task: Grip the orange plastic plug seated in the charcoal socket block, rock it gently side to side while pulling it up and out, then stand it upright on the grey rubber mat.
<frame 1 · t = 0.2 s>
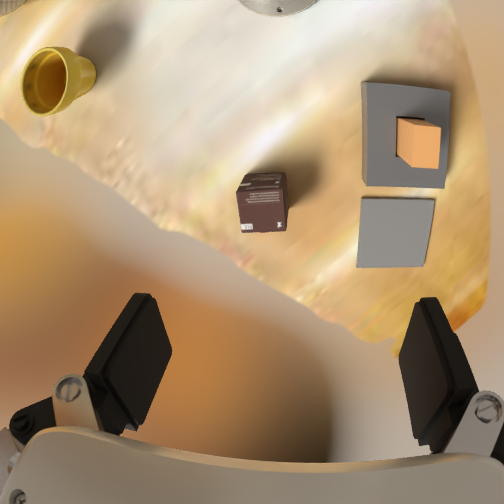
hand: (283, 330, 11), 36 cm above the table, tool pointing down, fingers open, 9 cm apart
plug: (403, 133, 38), resting on socket block
box: (267, 191, 46), on the table
mat: (394, 233, 46), on the table
socket block: (402, 132, 38), on the table
plant pot: (82, 76, 40), on the table
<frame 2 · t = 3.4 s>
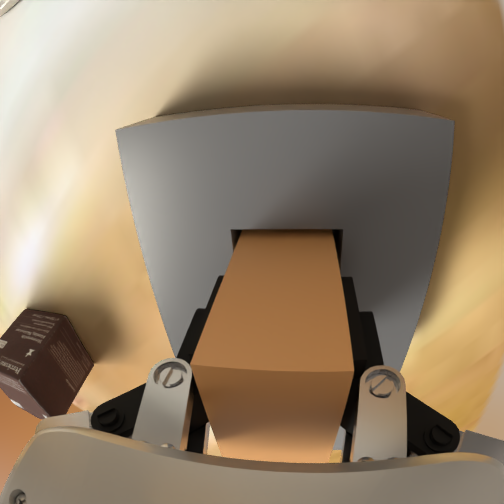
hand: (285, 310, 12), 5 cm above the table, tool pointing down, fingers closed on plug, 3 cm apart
plug: (290, 258, 15), point 1 cm above the table, touching gripper
box: (60, 335, 24), on the table
socket block: (291, 248, 16), on the table
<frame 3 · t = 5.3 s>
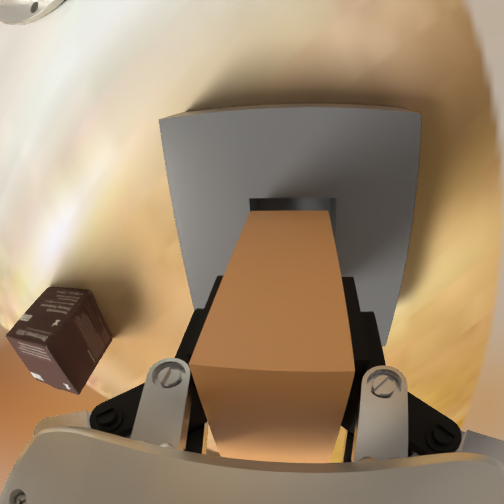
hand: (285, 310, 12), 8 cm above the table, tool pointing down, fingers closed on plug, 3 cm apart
plug: (290, 259, 15), point 4 cm above the table, touching gripper
box: (81, 311, 27), on the table
socket block: (295, 221, 19), on the table
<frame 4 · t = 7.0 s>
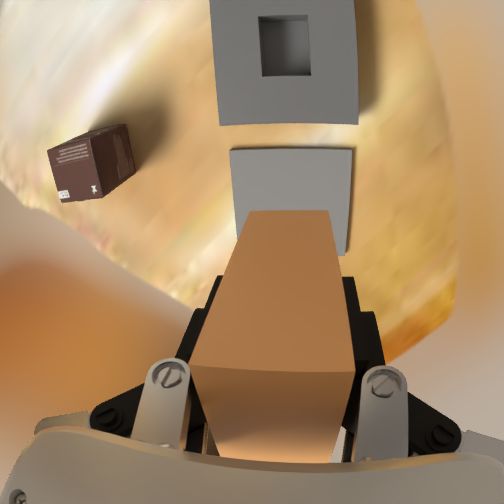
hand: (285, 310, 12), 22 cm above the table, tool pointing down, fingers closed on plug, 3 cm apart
plug: (290, 259, 15), point 18 cm above the table, touching gripper
box: (111, 151, 32), on the table
mat: (291, 203, 33), on the table
socket block: (285, 48, 25), on the table
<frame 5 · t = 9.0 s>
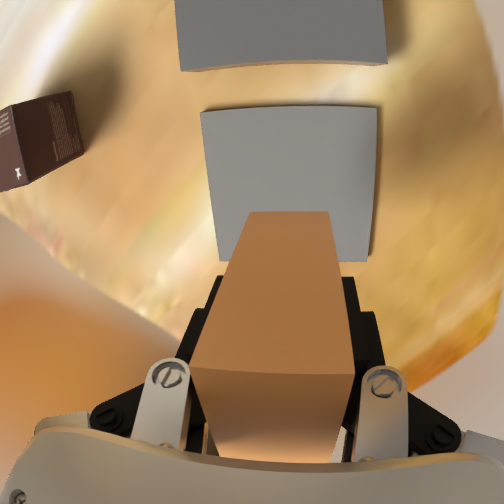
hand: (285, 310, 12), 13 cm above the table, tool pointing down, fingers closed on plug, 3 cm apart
plug: (290, 260, 15), point 9 cm above the table, touching gripper
box: (56, 129, 22), on the table
mat: (291, 187, 23), on the table
when the fingers open (6 cm above the table, at t = 10.5 s): plug drops 2 cm, resting on mat.
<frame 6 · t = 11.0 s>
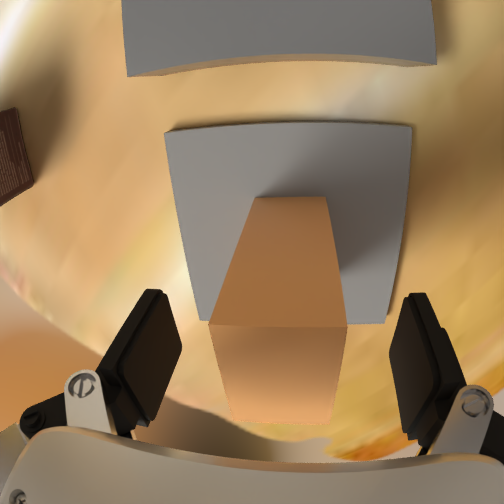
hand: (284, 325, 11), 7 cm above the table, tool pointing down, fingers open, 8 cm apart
plug: (291, 241, 17), point 1 cm above the table, touching mat
box: (5, 153, 17), on the table
mat: (291, 234, 17), on the table
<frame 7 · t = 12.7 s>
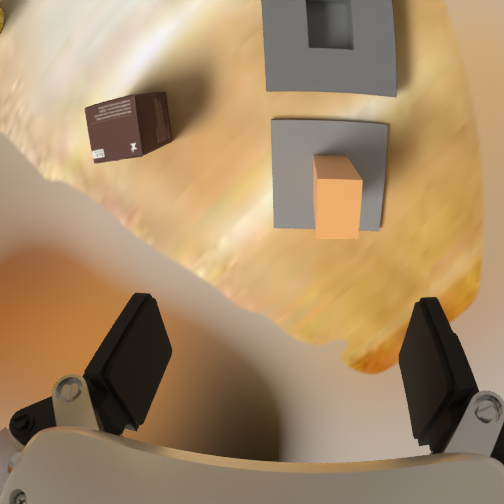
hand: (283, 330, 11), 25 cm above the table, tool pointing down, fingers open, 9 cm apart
plug: (329, 178, 32), point 1 cm above the table, touching mat
box: (146, 120, 32), on the table
mat: (329, 175, 32), on the table
socket block: (327, 28, 25), on the table
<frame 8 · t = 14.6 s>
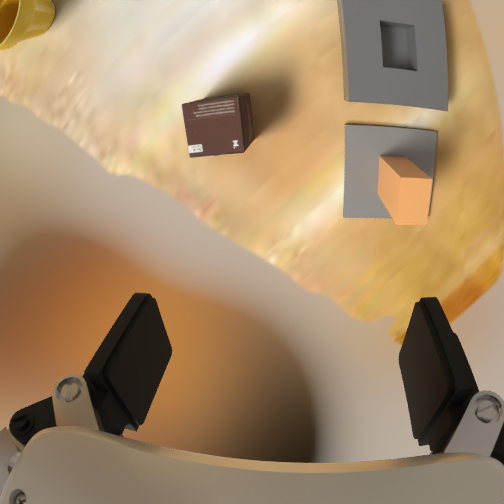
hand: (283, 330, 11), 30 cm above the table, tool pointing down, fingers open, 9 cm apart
plug: (391, 175, 36), point 1 cm above the table, touching mat
box: (228, 119, 36), on the table
mat: (390, 173, 36), on the table
socket block: (390, 48, 28), on the table
plant pot: (42, 17, 29), on the table
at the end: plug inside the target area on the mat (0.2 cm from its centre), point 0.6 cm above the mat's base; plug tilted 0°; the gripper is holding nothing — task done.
